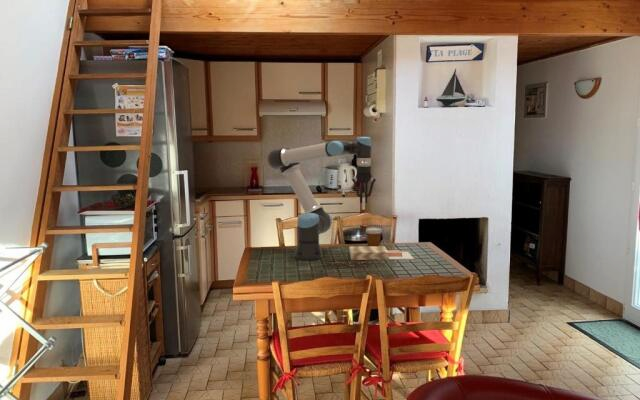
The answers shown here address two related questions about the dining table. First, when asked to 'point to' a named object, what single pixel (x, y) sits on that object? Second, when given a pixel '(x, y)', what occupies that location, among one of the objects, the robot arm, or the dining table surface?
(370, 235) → the disposable coffee cup
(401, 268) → the dining table surface
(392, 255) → the pink flat piece
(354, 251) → the birch board
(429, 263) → the dining table surface
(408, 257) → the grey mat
